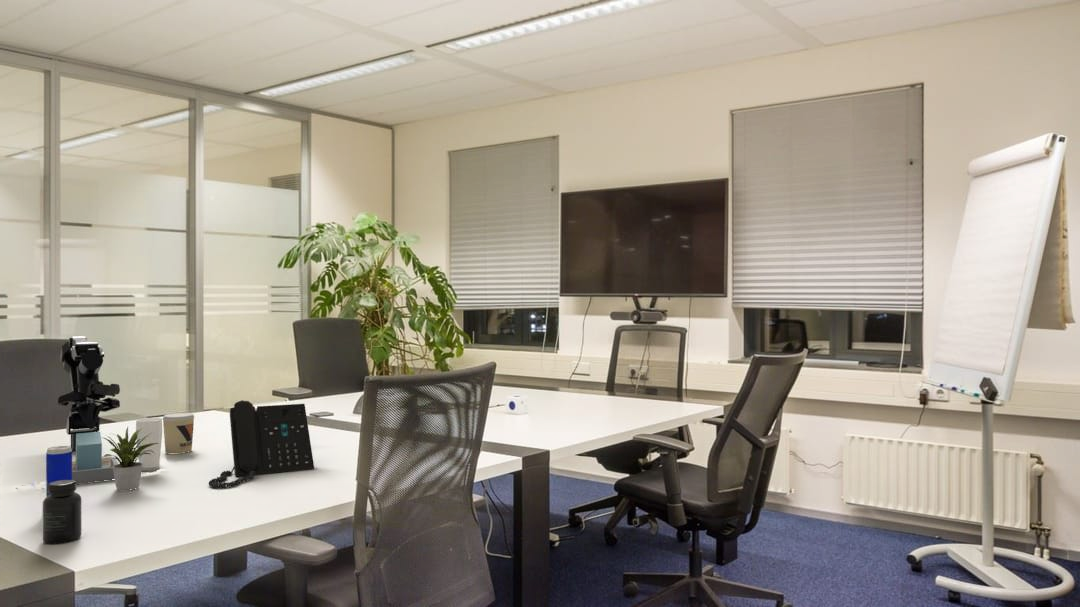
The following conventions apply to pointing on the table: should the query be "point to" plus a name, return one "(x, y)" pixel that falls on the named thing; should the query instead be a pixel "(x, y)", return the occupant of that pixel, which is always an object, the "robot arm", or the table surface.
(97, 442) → the block
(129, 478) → the house plant
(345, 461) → the table surface
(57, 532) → the supplement bottle
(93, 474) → the box
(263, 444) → the office phone
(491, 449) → the table surface
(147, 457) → the white tall tapered cylinder
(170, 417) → the coffee cup
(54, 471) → the beverage can
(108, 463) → the board
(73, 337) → the robot arm
